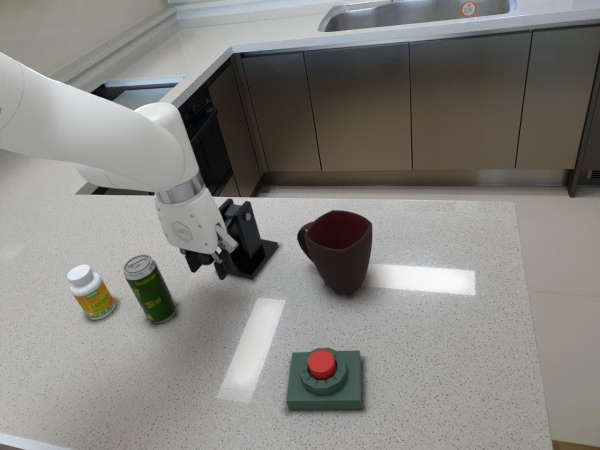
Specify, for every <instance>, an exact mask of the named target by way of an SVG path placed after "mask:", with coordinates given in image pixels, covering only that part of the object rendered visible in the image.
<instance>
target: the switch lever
mask: <svg viewBox="0 0 600 450" xmlns="http://www.w3.org/2000/svg"><path fill="white" fill-rule="evenodd" d="M241 206H242V204H236V203H234V204H231V206H230V207H229V209H228V210H227V211H226V213H225V214H224V215H225V217H226V219H227V220H226V221H225V223H224V224H225V226H226V230H227V233H228V231H229V230H230V228H231V227H232V225H233V224H235V225H236V223H235V220H234V217H233V214H234V213H235V212H236V211H237V210H238V209H239V208H240V207H241ZM197 259H198V261H199V262H200V263H201V264H202V266H210V265H212V264H214V262H215V260H214V258H213V257H212V256H211V254H204V253H199V252H198V254H197Z"/></svg>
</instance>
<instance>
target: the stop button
mask: <svg viewBox="0 0 600 450" xmlns="http://www.w3.org/2000/svg"><path fill="white" fill-rule="evenodd" d="M308 366H309V370H310V373H311V375H312V376H313V377H314V378H316V379H320V380H324V379H327V378H329V377H331V376H332V375H333V374H334V372H335V369H336V366H335V361H334V357H333V355H332V354H331V353H330V352H328V351H325V350H319V351H316V352H314V353H312V354H311V355H310V357H309V359H308Z"/></svg>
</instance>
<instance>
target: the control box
mask: <svg viewBox="0 0 600 450" xmlns="http://www.w3.org/2000/svg"><path fill="white" fill-rule="evenodd" d="M319 350H325V351H328V352H330V353H331V354H332V355H333V357H334V361H335V366H336V369H335V372H334V374H333V375H332V376H331V377H329V378H327V379H324V380H320V379H316V378H314V377H313V376H312V375H311V373H310V370H309V366H308V359H309V357H310V355H311V354H312V353H314V352H316V351H319ZM362 391H363V390H362V358H361V350H360V349H358V350H335V349H334V348H331V347H317V348H315V349H312V350H310V351H298V352H297V351H296V352H295V351H294V352H291V360H290V369H289V376H288V385H287V392H286V399H285V402H286V405H287V407H288V410H289V411H310V410H311V411H316V410H318V411H320V410H322V411H323V410H327V411H328V410H331V411H332V410H362V409H363V405H362V404H363V400H362V399H363V398H362V397H363V395H362V394H363V393H362Z"/></svg>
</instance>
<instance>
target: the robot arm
mask: <svg viewBox="0 0 600 450" xmlns="http://www.w3.org/2000/svg"><path fill="white" fill-rule="evenodd" d="M0 149H2V150H4V151H8V152H11V153H15V154H19V155H24V156H26V157H27V156H28V157H31V158H32V157H33V158H37V159H44V160H50V161H51V160H52V161H59V162H66V163H73V164H75V168H76V170H77V172H78V174H79V175H80V176H81V178H83V180H85V181H86V182H88V183H90V184H92V185H94V186H97V187H101V188H109V189H118V190H132V191H141V192H142V191H143V192H149V193H154V195H153V201H154V206H155V210H156V214H157V218H158V220H159V223H160V226H161V229H162V231H163V232H162V233H163V235H164V237H165V239H166V241H167V242H168V244H169V245H171V246H172V247H174V248H178V249H179V253H180V254H181V255H183V256H184V259H185V261H186V263H187V265H188V269H189V270H190V272H191V273H193V274H196V273H197V272H198V270H199V269H200V268H201V267H203V265H202V264H201V263H200V262H199V261H198V259H197V254H198V252H199V253H204V254H211V256H212V257H213V258H214V260H215V261H214V262H213V267H214V270H215V272H216V275H217V277H218V279H219V280H220V281H224V280H226V278H227V277H228V275H230V274H229V273H230V272H231V270H232V265H231V263H230V260H229V257H228V255H229V254H230V253H231V252H232V251H234V249H235V248H236V247H237V246H238V243H237V242H236V241H235V240H234V239H233V238H232V237H231V236H230V235H229V234H228V233H227V230H226V226H225V224H224V221H223V218H222V216H221V213H220V211H219V209H218V208H219V207H218V205H217V203H216V201H215V198H214V197H213V195H212V194H211V192H210V190H209V188H208V187H206V184H205V181H204V178H203V175H202V172H201V170H200V167H199V164H198V161H197V158H196V156H195V153H194V149H193V146H192V144H191V141H190V139H189V135H188V133H187V129H186V127H185V124H184V122H183V118H182V115H181V113H180V110H179V109H178V108H177V107H176V105H174V104H173V103H170V102H166V101H159V102H151V103H148V104H145V105H142V106H140V107H138V108H136V109H131V108H129V107H126V106H124V105H122V104H119V103H117V102H114V101H112V100H109V99H106V98H104V97H101V96H98V95H95V94H92V93H90V92H87V91H85V90H82V89H79V88H77V87H75V86H72V85H70V84H68V83H65V82H61V81H58V80H56V79H52V78H50V77H47V76H45V75H43V74H41V73H39V72H37V71H35V70H34V69H32V68H31V67H28V66H26V65H24V64H23V63H22V62H19V61H18V60H17V59H16V60H15V59H14V58H12V57H10V56H8V55H7V54H5V53H3V52H2V51H0ZM218 248H219V250H220V252H218V251H217V250H218Z"/></svg>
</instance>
